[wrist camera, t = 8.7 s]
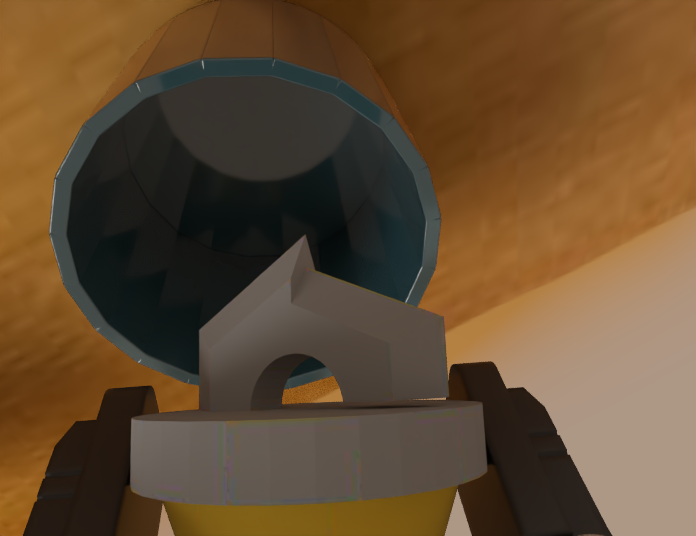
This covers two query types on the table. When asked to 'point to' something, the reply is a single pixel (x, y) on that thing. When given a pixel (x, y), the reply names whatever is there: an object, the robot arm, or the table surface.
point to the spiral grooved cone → (313, 418)
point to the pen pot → (237, 179)
